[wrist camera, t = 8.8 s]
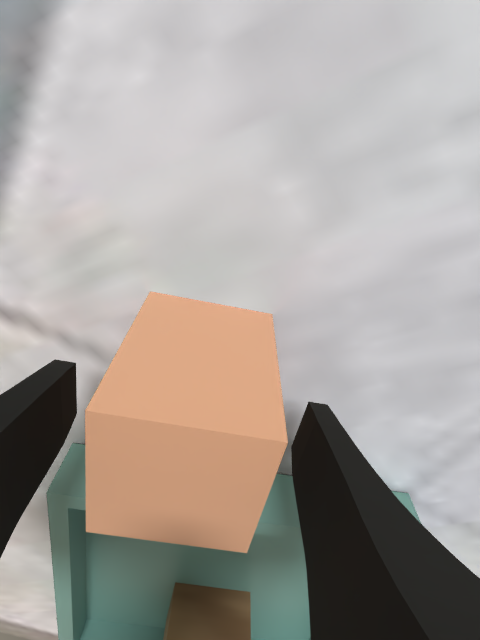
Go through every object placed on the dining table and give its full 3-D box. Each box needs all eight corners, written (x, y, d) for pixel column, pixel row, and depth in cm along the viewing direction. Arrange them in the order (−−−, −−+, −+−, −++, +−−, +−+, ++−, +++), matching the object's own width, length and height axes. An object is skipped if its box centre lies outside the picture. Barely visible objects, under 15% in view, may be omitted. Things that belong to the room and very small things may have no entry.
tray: (408, 493, 18) (430, 546, 16) (312, 639, 26) (318, 688, 23) (73, 442, 17) (46, 492, 14) (77, 612, 24) (60, 661, 22)
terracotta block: (272, 313, 13) (287, 442, 8) (246, 404, 16) (246, 552, 10) (150, 291, 13) (84, 410, 8) (141, 387, 15) (85, 531, 10)
